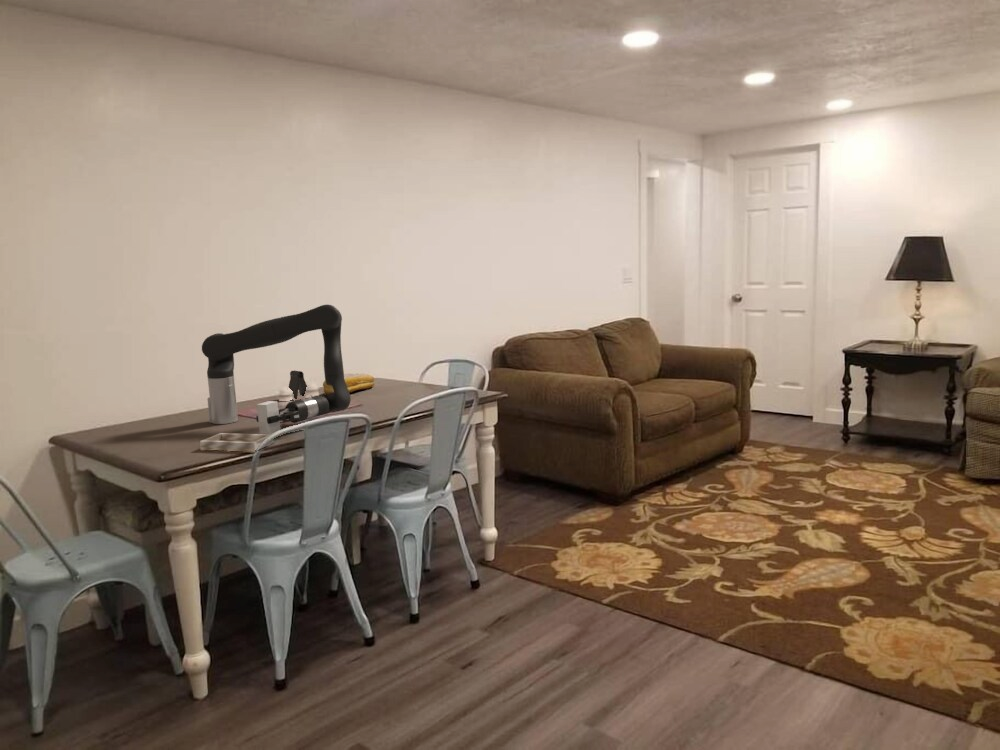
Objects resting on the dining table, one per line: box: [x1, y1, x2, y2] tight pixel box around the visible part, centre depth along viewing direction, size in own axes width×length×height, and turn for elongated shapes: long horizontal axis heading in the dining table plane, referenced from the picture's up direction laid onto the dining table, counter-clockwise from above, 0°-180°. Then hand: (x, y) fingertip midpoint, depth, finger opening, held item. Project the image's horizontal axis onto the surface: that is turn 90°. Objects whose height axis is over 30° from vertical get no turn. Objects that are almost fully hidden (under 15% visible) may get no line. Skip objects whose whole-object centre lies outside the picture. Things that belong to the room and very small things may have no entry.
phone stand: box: [288, 369, 308, 399], centre depth 323 cm, size 9×6×12 cm, turn 136°
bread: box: [322, 372, 375, 394], centre depth 335 cm, size 13×26×8 cm, turn 153°
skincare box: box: [256, 400, 282, 435], centre depth 254 cm, size 6×4×12 cm
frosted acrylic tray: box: [199, 432, 270, 453], centre depth 244 cm, size 20×11×3 cm, turn 75°
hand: (262, 419), depth 252 cm, fingers closed on skincare box, 5 cm apart
